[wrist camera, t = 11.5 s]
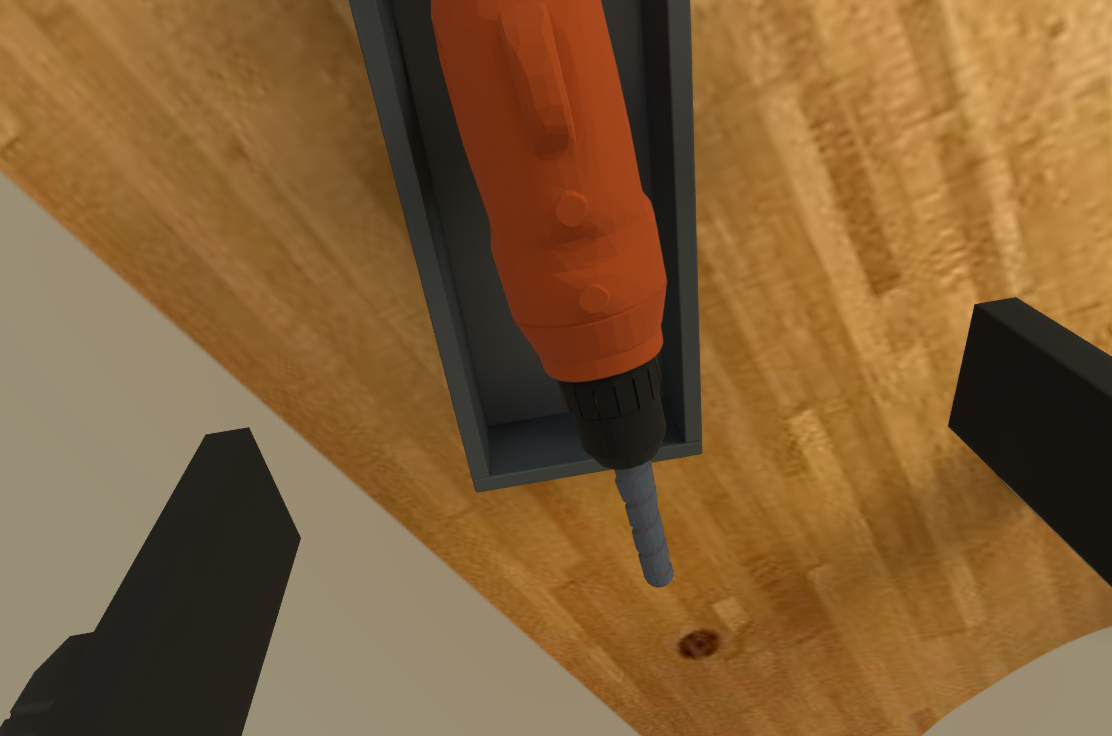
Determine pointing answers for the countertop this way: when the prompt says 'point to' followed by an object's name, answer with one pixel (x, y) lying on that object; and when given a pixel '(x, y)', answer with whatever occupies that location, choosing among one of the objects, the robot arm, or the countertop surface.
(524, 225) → the toy drill
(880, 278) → the countertop surface
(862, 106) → the countertop surface
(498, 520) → the countertop surface
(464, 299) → the tray
